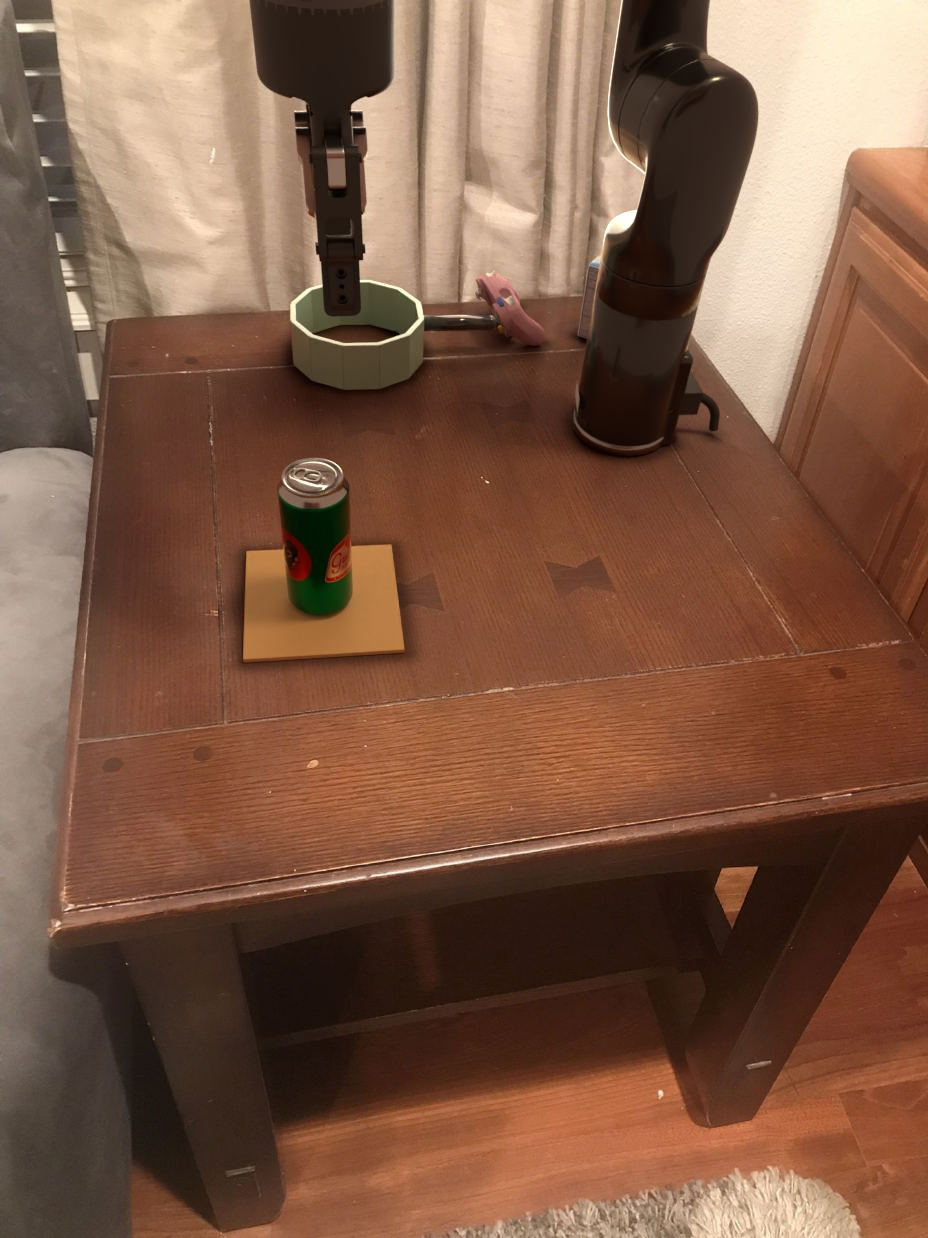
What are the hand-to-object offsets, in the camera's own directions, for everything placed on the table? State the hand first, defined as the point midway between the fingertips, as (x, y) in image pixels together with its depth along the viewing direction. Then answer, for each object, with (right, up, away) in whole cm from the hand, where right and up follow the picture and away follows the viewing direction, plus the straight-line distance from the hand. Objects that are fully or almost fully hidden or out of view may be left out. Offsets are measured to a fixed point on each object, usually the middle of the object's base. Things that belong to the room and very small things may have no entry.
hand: (338, 279), depth 61 cm
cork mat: (-3, -20, +15) cm, 25 cm away
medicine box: (+25, +10, +46) cm, 54 cm away
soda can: (-3, -20, +15) cm, 25 cm away
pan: (+1, +7, +41) cm, 42 cm away
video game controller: (+13, +11, +47) cm, 50 cm away
